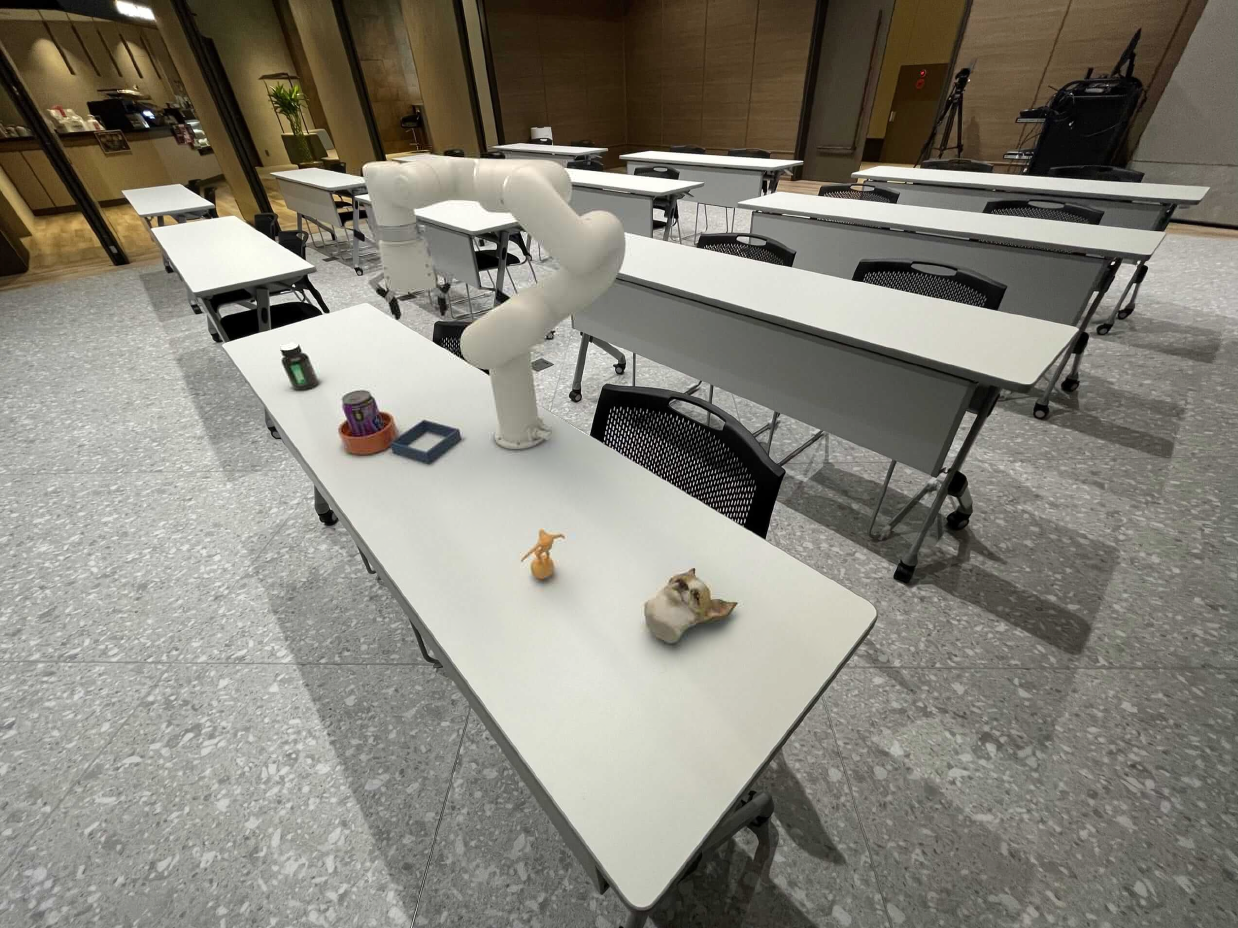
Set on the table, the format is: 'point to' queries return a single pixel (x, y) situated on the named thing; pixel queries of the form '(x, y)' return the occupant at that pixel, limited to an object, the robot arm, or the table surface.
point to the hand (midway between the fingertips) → (421, 315)
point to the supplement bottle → (298, 367)
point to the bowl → (369, 437)
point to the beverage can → (362, 413)
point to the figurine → (542, 563)
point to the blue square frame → (400, 442)
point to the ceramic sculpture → (683, 607)
